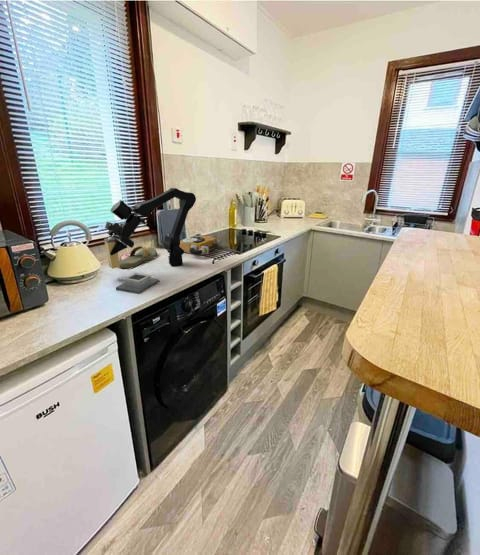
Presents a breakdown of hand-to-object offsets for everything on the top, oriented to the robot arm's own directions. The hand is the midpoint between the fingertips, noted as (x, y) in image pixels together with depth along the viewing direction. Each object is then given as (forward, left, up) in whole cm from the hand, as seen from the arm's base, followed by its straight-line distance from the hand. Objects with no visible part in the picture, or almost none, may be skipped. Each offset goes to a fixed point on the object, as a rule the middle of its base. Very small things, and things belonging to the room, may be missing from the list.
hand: (109, 253), depth 123 cm
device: (-50, -31, -13) cm, 60 cm away
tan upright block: (-1, 0, -7) cm, 7 cm away
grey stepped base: (-10, +13, -12) cm, 20 cm away
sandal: (-13, -25, -13) cm, 31 cm away
